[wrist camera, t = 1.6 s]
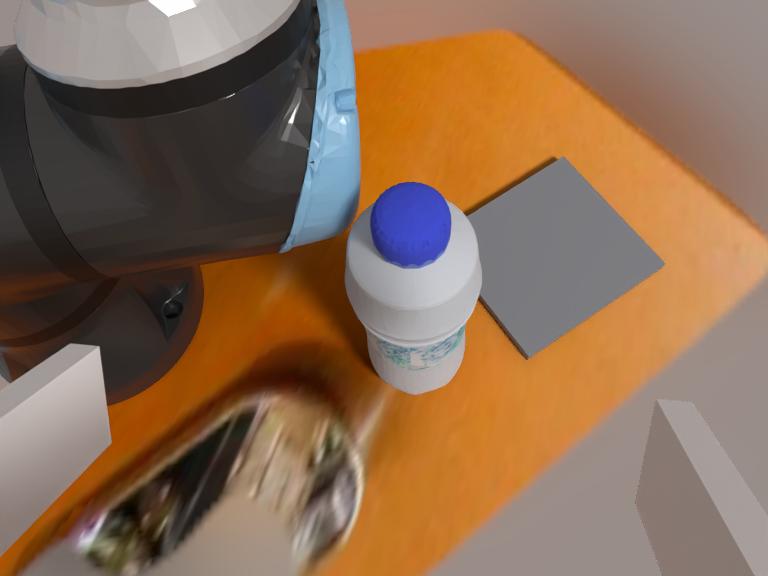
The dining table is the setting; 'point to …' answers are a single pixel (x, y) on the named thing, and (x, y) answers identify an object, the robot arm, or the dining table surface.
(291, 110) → the robot arm
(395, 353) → the bottle
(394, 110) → the dining table surface
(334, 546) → the dining table surface
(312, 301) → the dining table surface
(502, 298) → the mat
